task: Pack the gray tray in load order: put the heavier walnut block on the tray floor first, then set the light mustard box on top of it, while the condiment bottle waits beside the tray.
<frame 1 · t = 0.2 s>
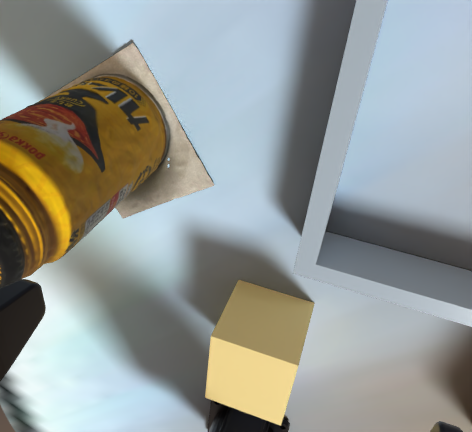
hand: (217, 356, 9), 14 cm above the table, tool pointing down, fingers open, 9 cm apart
mustard box: (269, 321, 29), on the table
condiment: (131, 138, 25), on the table
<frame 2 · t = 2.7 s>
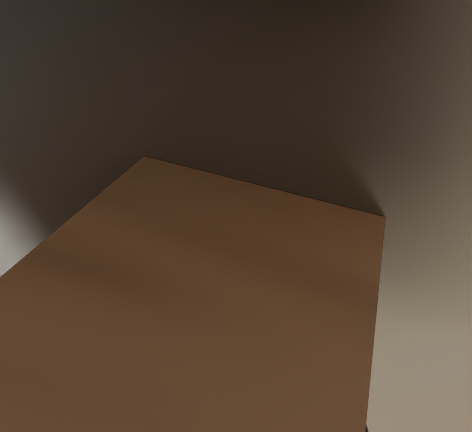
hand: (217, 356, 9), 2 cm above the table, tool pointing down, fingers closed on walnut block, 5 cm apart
walnut block: (240, 307, 11), on the table, touching gripper
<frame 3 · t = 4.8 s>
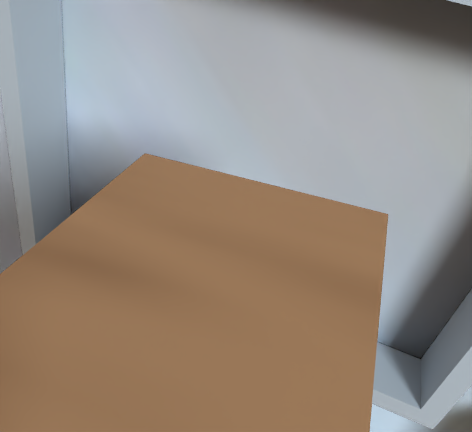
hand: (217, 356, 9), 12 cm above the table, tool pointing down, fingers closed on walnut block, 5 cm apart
walnut block: (241, 306, 11), point 10 cm above the table, touching gripper
gray tray: (265, 159, 20), on the table
when the fingers open (3 cm above the table, at t = 6.9 s): walnut block drops 2 cm, resting in gray tray.
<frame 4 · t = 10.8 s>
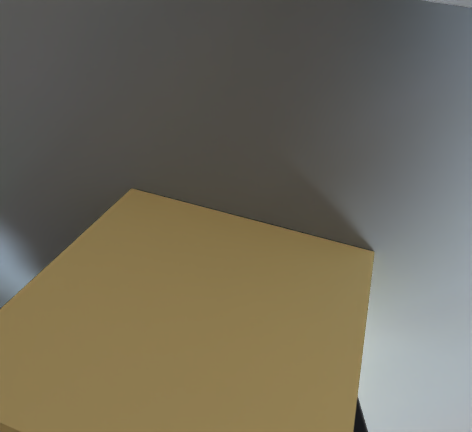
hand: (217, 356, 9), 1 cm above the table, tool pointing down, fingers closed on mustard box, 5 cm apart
mustard box: (233, 322, 10), on the table, touching gripper
when the fingers open (8 cm above the table, at t = 14.8 s): mustard box drops 1 cm, resting on walnut block.
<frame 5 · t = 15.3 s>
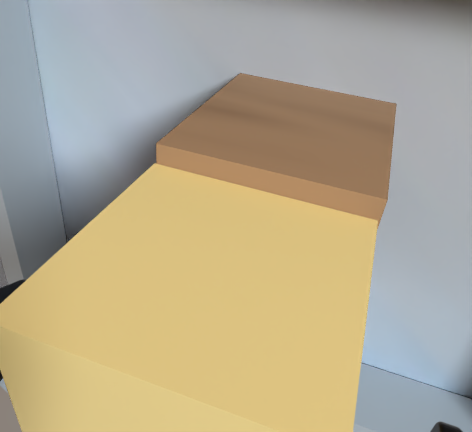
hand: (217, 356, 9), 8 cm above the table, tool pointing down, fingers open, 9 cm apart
walnut block: (296, 182, 16), resting in gray tray, touching mustard box
mustard box: (245, 290, 11), point 6 cm above the table, touching walnut block
gray tray: (295, 184, 16), on the table
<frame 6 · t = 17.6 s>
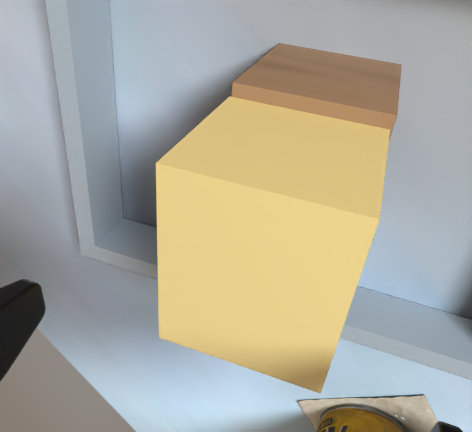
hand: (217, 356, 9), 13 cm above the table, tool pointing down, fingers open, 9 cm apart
walnut block: (321, 132, 20), resting in gray tray, touching mustard box
mustard box: (290, 195, 15), point 6 cm above the table, touching walnut block
condiment: (376, 430, 30), on the table
gray tray: (320, 134, 20), on the table
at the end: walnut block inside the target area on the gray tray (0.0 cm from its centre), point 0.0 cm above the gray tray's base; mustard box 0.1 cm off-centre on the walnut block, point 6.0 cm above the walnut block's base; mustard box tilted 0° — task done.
